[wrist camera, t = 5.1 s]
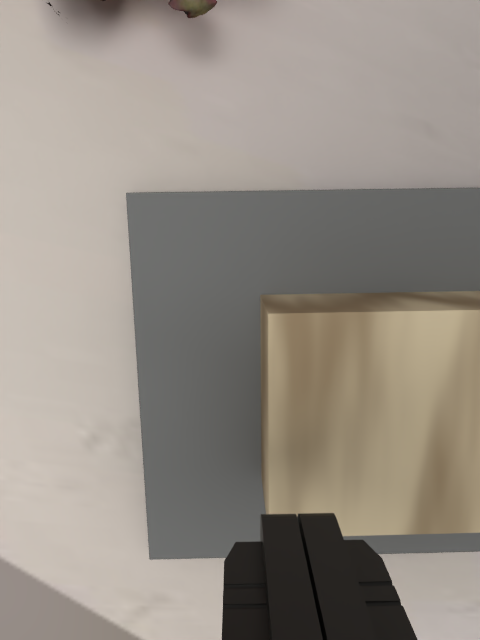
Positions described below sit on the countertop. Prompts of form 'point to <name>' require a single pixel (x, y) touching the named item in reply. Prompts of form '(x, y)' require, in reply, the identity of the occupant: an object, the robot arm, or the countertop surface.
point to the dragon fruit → (189, 6)
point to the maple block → (373, 409)
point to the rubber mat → (245, 331)
